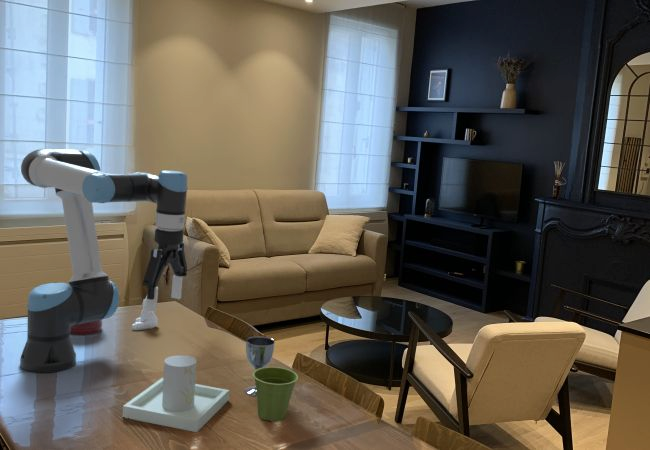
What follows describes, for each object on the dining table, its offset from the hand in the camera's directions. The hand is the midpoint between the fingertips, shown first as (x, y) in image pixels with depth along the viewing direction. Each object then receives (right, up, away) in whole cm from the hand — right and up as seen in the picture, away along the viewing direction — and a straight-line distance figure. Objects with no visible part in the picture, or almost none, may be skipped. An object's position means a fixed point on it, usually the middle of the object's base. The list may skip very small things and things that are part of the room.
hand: (164, 304), depth 172 cm
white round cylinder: (+6, -25, -9) cm, 27 cm away
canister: (-40, -15, +46) cm, 63 cm away
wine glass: (+25, -26, +6) cm, 36 cm away
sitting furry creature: (-21, -15, +54) cm, 60 cm away
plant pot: (+30, -28, -8) cm, 42 cm away
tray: (+6, -26, -9) cm, 28 cm away
